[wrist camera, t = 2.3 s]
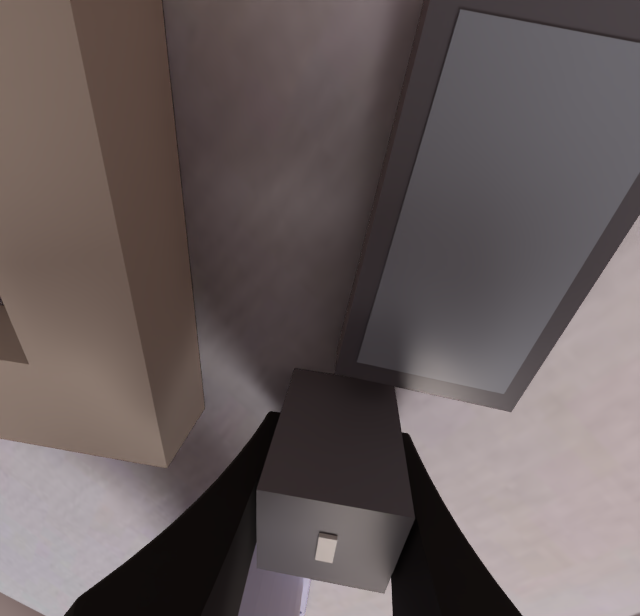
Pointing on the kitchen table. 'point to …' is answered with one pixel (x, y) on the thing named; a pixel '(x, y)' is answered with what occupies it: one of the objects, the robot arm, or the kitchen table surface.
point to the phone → (496, 194)
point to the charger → (335, 484)
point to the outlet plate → (93, 234)
